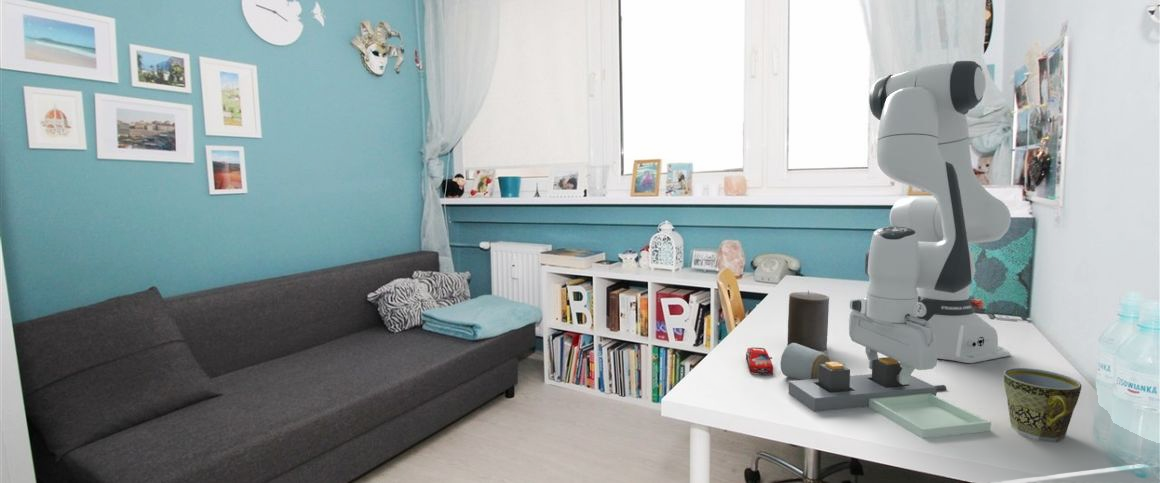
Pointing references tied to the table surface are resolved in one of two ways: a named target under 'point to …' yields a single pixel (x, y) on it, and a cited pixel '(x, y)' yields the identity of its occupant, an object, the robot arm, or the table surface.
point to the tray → (929, 415)
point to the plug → (886, 372)
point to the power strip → (849, 389)
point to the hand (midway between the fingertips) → (888, 376)
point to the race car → (759, 361)
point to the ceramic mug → (801, 362)
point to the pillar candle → (808, 320)
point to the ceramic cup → (1040, 402)
